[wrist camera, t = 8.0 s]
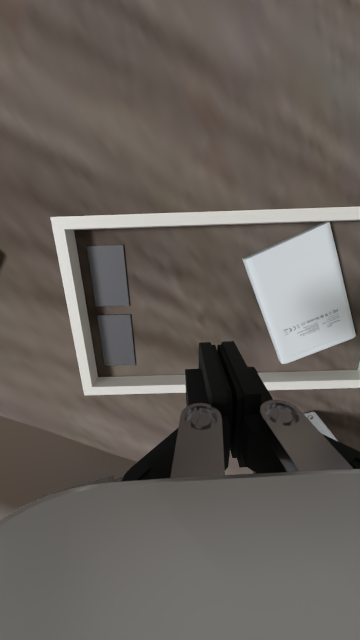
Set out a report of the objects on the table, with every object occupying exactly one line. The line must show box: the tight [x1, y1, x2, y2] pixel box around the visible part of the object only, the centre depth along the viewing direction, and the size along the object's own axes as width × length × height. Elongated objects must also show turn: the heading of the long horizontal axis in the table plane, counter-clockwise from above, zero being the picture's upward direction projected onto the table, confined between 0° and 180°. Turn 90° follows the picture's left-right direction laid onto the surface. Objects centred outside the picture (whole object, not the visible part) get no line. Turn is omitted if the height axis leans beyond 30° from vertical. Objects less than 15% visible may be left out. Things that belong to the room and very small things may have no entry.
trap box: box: [51, 207, 360, 395], centre depth 23 cm, size 18×33×4 cm, turn 92°
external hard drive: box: [243, 221, 356, 364], centre depth 25 cm, size 2×8×12 cm
